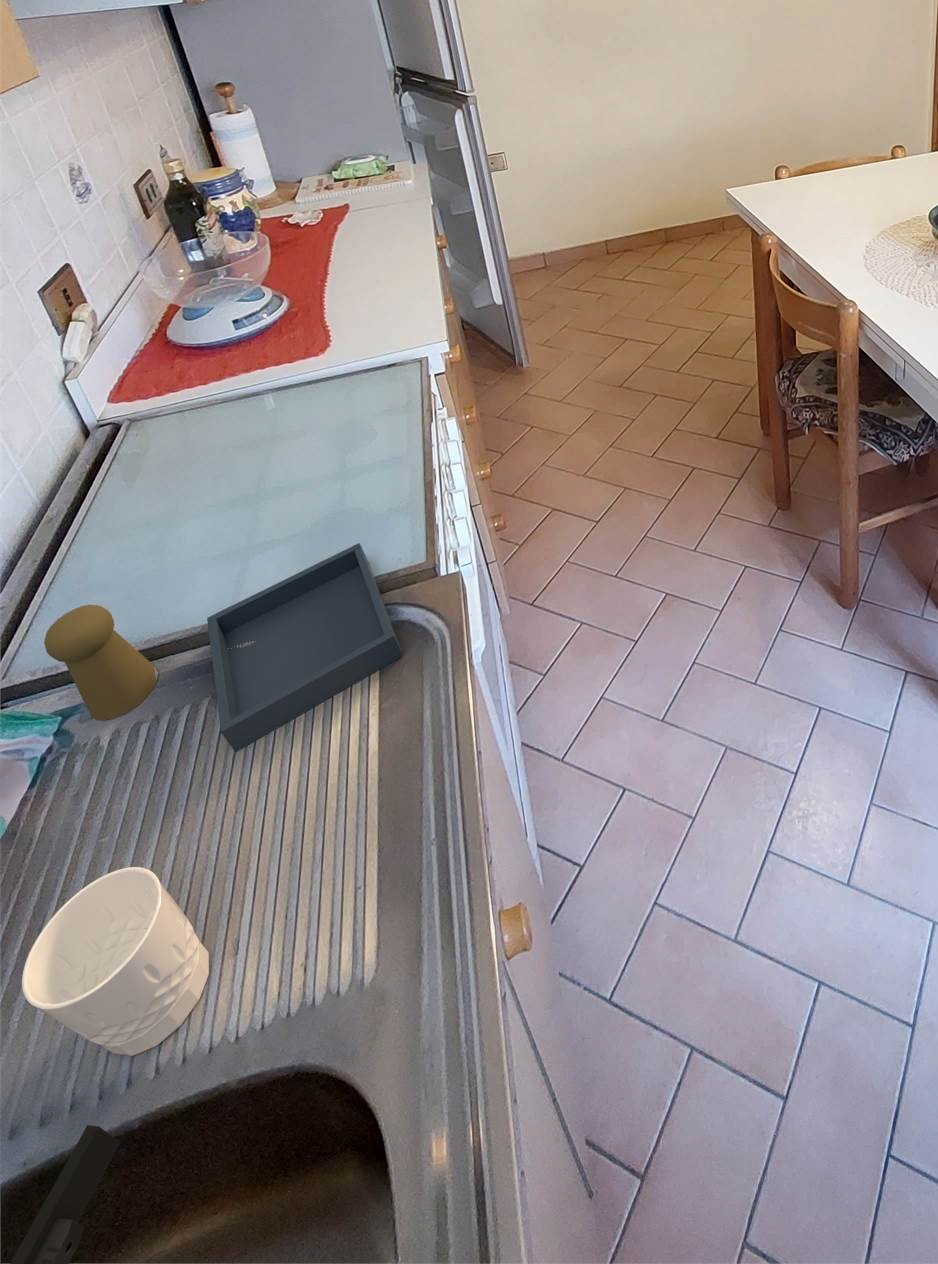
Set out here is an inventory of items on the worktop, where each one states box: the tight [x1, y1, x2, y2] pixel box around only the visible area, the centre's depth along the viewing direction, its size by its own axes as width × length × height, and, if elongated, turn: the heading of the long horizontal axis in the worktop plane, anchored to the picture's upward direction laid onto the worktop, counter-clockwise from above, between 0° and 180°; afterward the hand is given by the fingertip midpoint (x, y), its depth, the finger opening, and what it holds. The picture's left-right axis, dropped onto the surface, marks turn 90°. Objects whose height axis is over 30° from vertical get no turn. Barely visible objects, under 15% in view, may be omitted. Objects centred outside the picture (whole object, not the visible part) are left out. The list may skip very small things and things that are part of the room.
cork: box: [43, 604, 158, 721], centre depth 79 cm, size 6×6×11 cm
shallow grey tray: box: [206, 542, 404, 753], centre depth 83 cm, size 16×16×3 cm
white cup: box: [21, 866, 210, 1057], centre depth 57 cm, size 8×8×10 cm
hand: (2, 1123), depth 48 cm, fingers open, 13 cm apart
